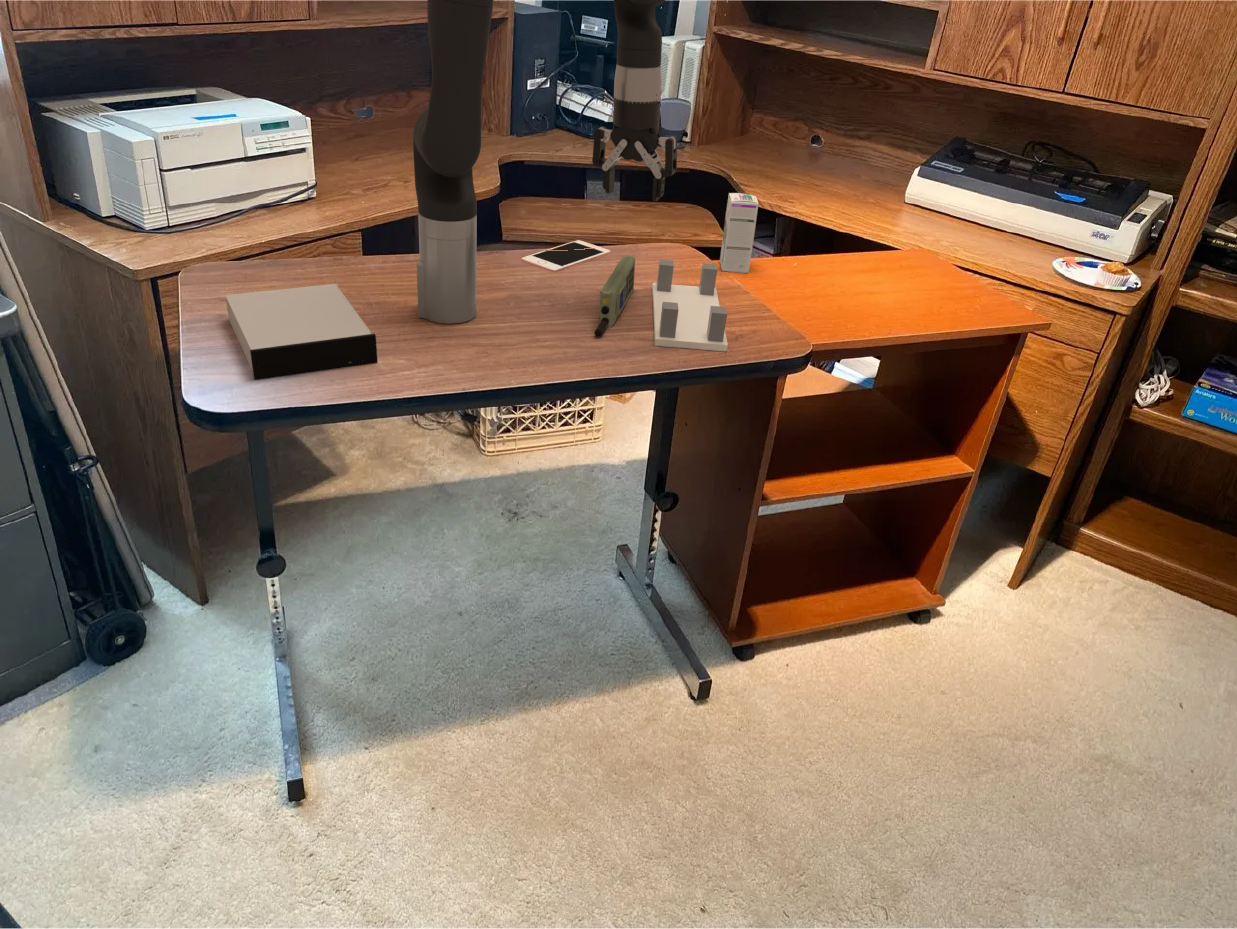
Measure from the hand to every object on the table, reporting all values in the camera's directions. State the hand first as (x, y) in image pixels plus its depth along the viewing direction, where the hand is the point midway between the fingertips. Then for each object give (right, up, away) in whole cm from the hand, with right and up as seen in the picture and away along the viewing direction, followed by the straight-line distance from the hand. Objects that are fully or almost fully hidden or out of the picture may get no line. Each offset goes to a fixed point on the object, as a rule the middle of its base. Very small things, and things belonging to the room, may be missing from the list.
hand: (632, 195), depth 157 cm
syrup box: (+21, -6, +32) cm, 39 cm away
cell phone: (-13, -4, +30) cm, 33 cm away
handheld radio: (-3, -19, +7) cm, 21 cm away
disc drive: (-52, -27, -14) cm, 60 cm away
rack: (+10, -20, +7) cm, 23 cm away
